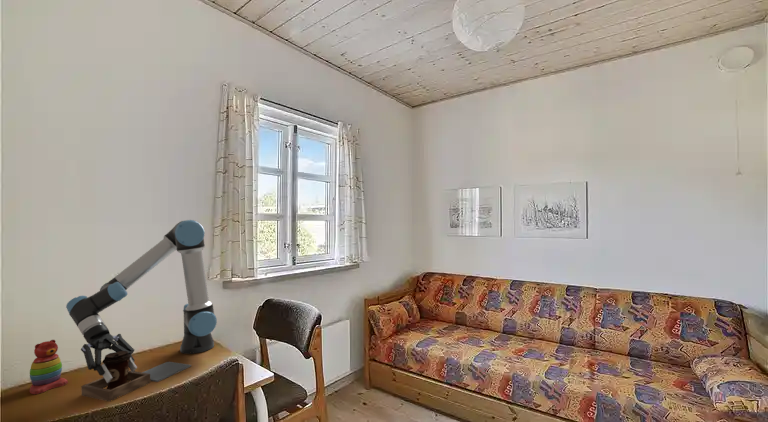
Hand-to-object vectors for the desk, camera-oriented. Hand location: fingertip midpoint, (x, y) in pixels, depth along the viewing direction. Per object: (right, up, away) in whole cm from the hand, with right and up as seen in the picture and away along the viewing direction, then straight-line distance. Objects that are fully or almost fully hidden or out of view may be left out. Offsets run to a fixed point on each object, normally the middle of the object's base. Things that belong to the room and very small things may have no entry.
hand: (122, 374), depth 138 cm
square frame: (-3, -6, +1) cm, 7 cm away
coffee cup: (-3, -6, +1) cm, 6 cm away
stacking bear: (-33, -7, +5) cm, 34 cm away
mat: (+6, -6, +16) cm, 18 cm away
